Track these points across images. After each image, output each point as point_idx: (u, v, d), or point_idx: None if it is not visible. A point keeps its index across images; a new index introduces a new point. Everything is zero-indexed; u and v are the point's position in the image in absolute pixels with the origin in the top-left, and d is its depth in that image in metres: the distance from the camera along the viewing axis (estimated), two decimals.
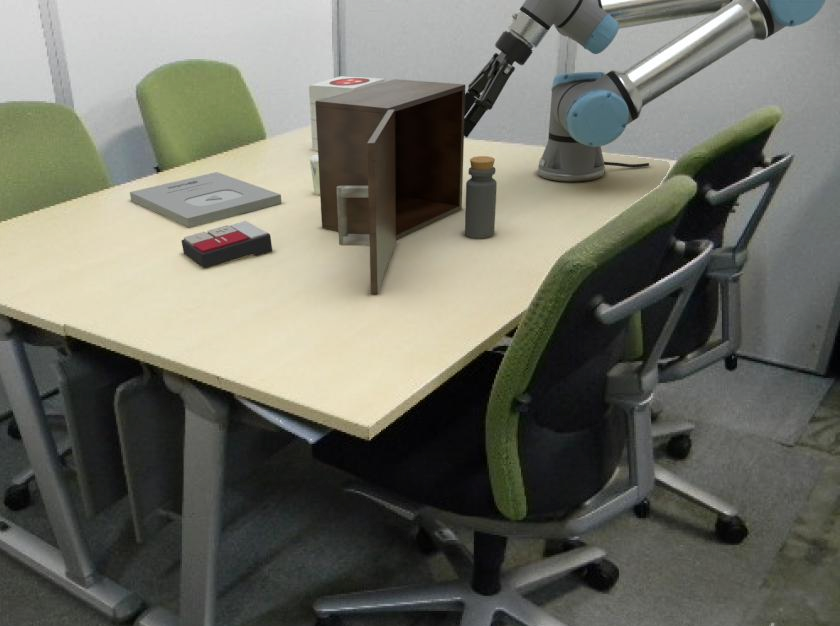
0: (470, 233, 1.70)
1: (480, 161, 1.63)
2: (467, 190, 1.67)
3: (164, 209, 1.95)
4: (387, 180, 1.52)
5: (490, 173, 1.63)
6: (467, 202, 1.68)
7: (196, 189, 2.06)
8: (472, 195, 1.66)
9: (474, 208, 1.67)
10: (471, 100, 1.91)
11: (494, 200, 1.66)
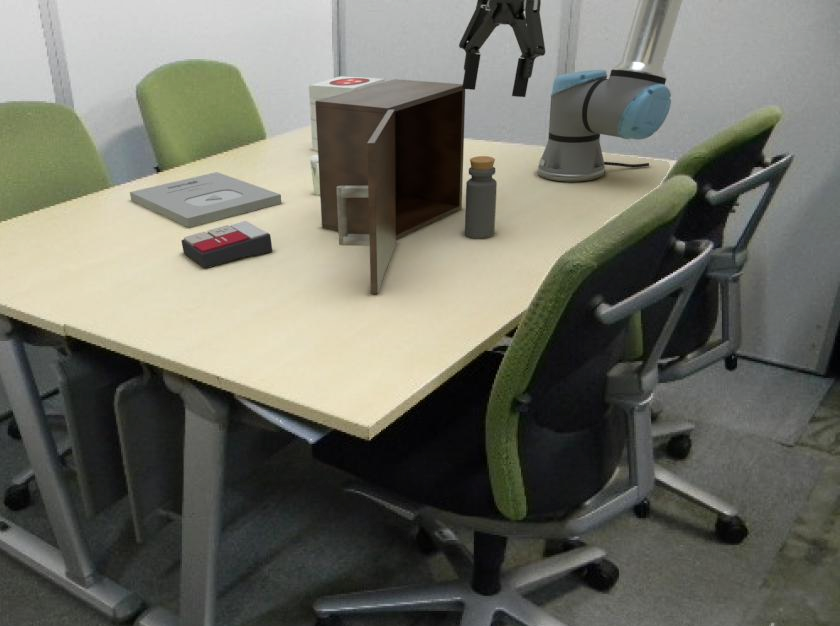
0: (470, 233, 1.70)
1: (480, 161, 1.63)
2: (467, 190, 1.67)
3: (164, 209, 1.95)
4: (387, 180, 1.52)
5: (490, 173, 1.63)
6: (467, 202, 1.68)
7: (196, 189, 2.06)
8: (472, 195, 1.66)
9: (474, 208, 1.67)
10: (476, 58, 1.65)
11: (494, 200, 1.66)
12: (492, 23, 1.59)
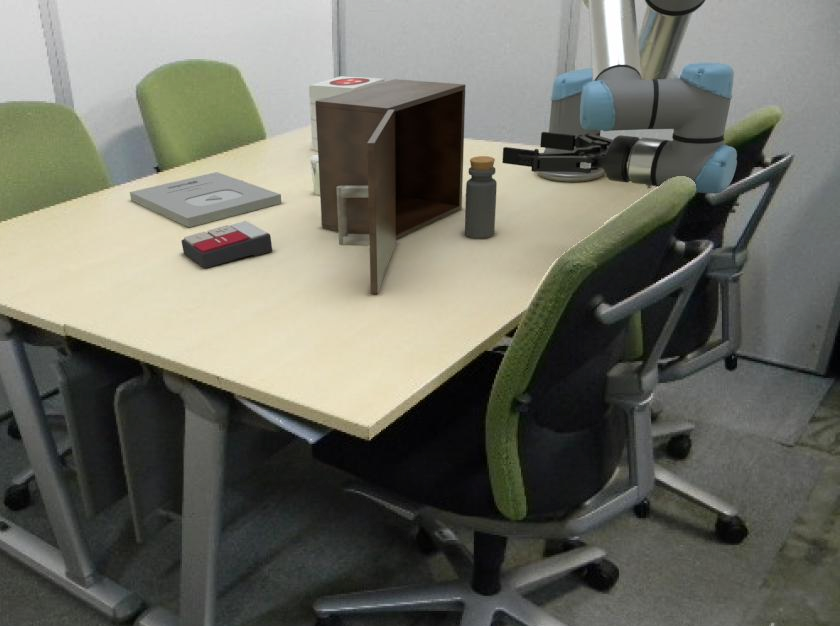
0: (470, 233, 1.70)
1: (480, 161, 1.63)
2: (467, 190, 1.67)
3: (164, 209, 1.95)
4: (387, 180, 1.52)
5: (490, 173, 1.63)
6: (467, 202, 1.68)
7: (196, 189, 2.06)
8: (472, 195, 1.66)
9: (474, 208, 1.67)
10: None
11: (494, 200, 1.66)
12: None
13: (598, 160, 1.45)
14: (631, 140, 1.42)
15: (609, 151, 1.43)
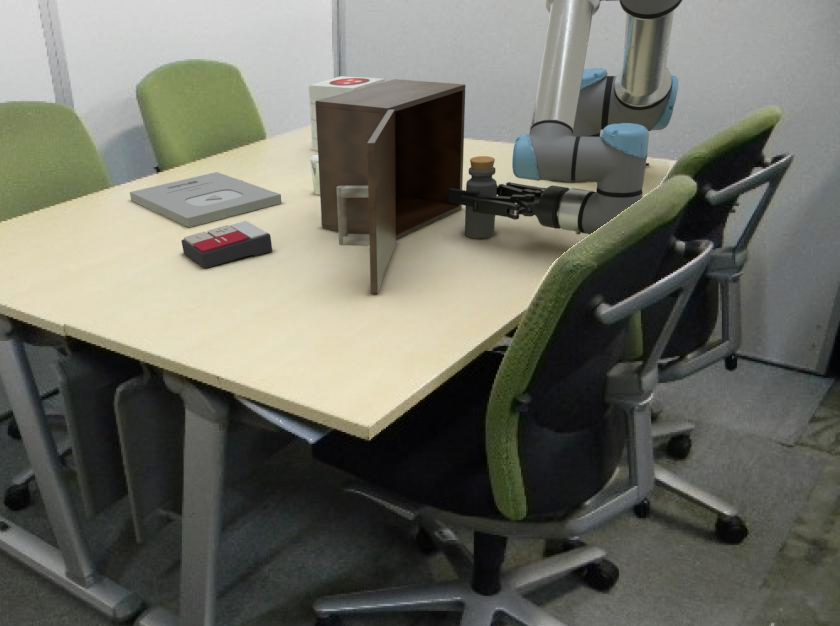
0: (470, 233, 1.70)
1: (480, 161, 1.63)
2: (467, 190, 1.67)
3: (164, 209, 1.95)
4: (387, 180, 1.52)
5: (490, 173, 1.63)
6: None
7: (196, 189, 2.06)
8: None
9: None
10: None
11: None
12: None
13: (531, 208, 1.57)
14: (561, 191, 1.55)
15: (541, 201, 1.56)
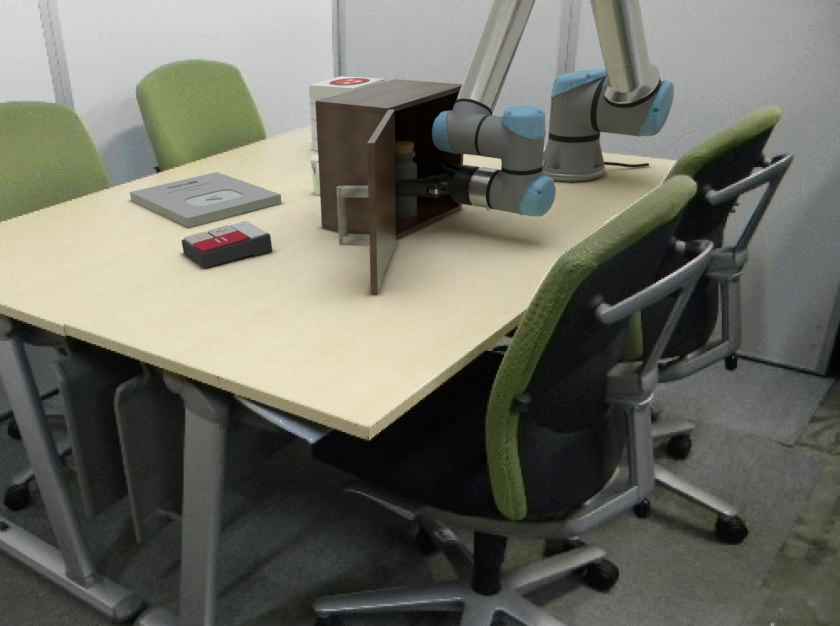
0: None
1: (400, 145, 1.74)
2: None
3: (164, 209, 1.95)
4: (387, 180, 1.52)
5: (409, 156, 1.75)
6: None
7: (196, 189, 2.06)
8: None
9: None
10: None
11: None
12: None
13: (445, 186, 1.68)
14: (472, 170, 1.66)
15: (453, 179, 1.67)
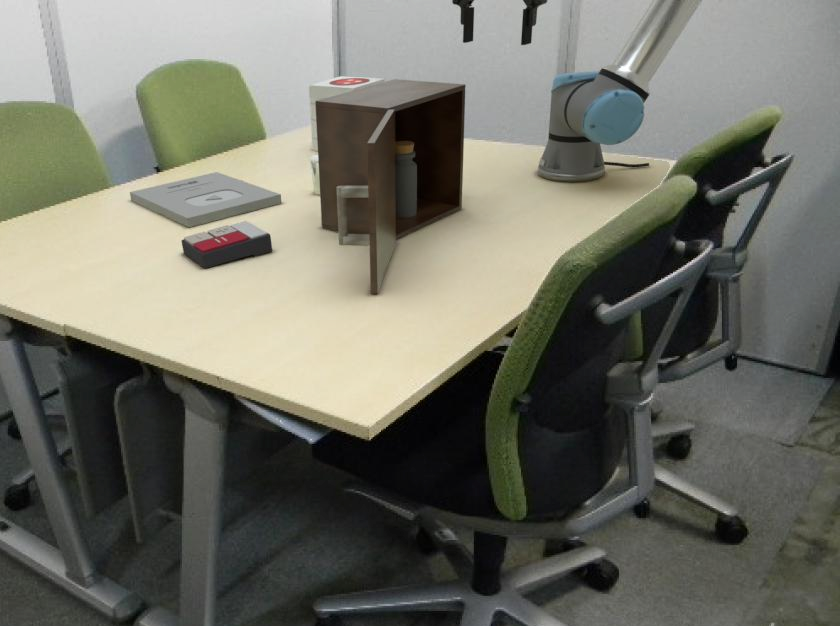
0: None
1: (400, 145, 1.74)
2: None
3: (164, 209, 1.95)
4: (387, 180, 1.52)
5: (409, 156, 1.75)
6: None
7: (196, 189, 2.06)
8: None
9: (395, 189, 1.78)
10: (471, 12, 1.76)
11: (415, 182, 1.78)
12: None
13: None
14: None
15: None
